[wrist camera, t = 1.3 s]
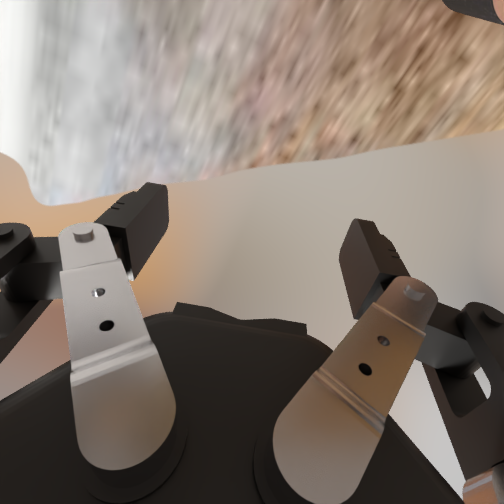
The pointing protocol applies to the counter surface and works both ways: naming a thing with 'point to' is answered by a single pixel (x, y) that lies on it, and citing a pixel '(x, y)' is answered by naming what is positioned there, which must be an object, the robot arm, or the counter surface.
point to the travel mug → (479, 9)
